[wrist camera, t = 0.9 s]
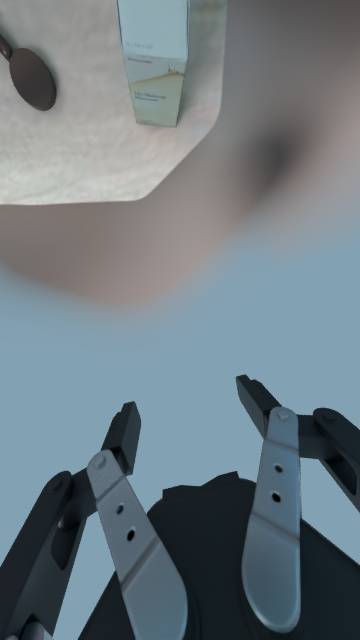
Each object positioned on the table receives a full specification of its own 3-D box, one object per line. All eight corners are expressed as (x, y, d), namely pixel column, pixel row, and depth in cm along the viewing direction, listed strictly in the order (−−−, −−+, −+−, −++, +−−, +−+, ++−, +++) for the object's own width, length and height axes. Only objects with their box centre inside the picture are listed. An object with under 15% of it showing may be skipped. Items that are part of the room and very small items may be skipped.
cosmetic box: (136, 124, 26) (118, 56, 15) (133, 78, 24) (109, -39, 13) (177, 128, 26) (188, 64, 16) (178, 83, 24) (190, -26, 14)
